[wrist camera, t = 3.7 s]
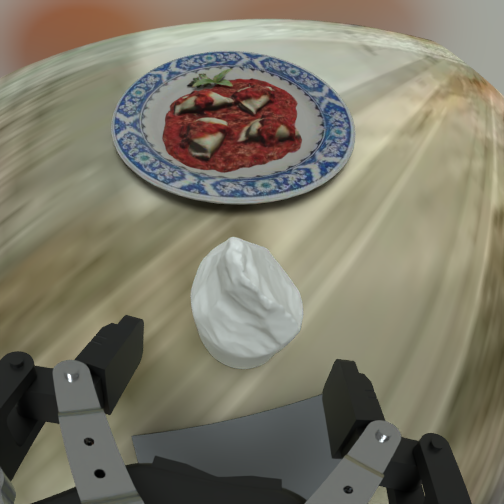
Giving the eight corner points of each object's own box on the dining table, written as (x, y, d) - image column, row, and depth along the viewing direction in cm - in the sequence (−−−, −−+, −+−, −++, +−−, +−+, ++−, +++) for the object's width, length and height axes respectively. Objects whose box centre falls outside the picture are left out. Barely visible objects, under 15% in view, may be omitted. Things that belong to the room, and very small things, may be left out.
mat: (328, 392, 21) (329, 391, 20) (354, 486, 17) (356, 487, 17) (132, 435, 18) (131, 436, 18) (163, 533, 14) (163, 535, 14)
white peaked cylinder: (364, 273, 12) (251, 373, 10) (295, 338, 22) (234, 388, 20) (262, 170, 13) (147, 240, 11) (242, 277, 24) (181, 321, 22)
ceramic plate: (384, 206, 29) (397, 188, 26) (104, 234, 25) (93, 215, 22) (309, 65, 40) (313, 48, 38) (128, 73, 36) (125, 56, 33)
